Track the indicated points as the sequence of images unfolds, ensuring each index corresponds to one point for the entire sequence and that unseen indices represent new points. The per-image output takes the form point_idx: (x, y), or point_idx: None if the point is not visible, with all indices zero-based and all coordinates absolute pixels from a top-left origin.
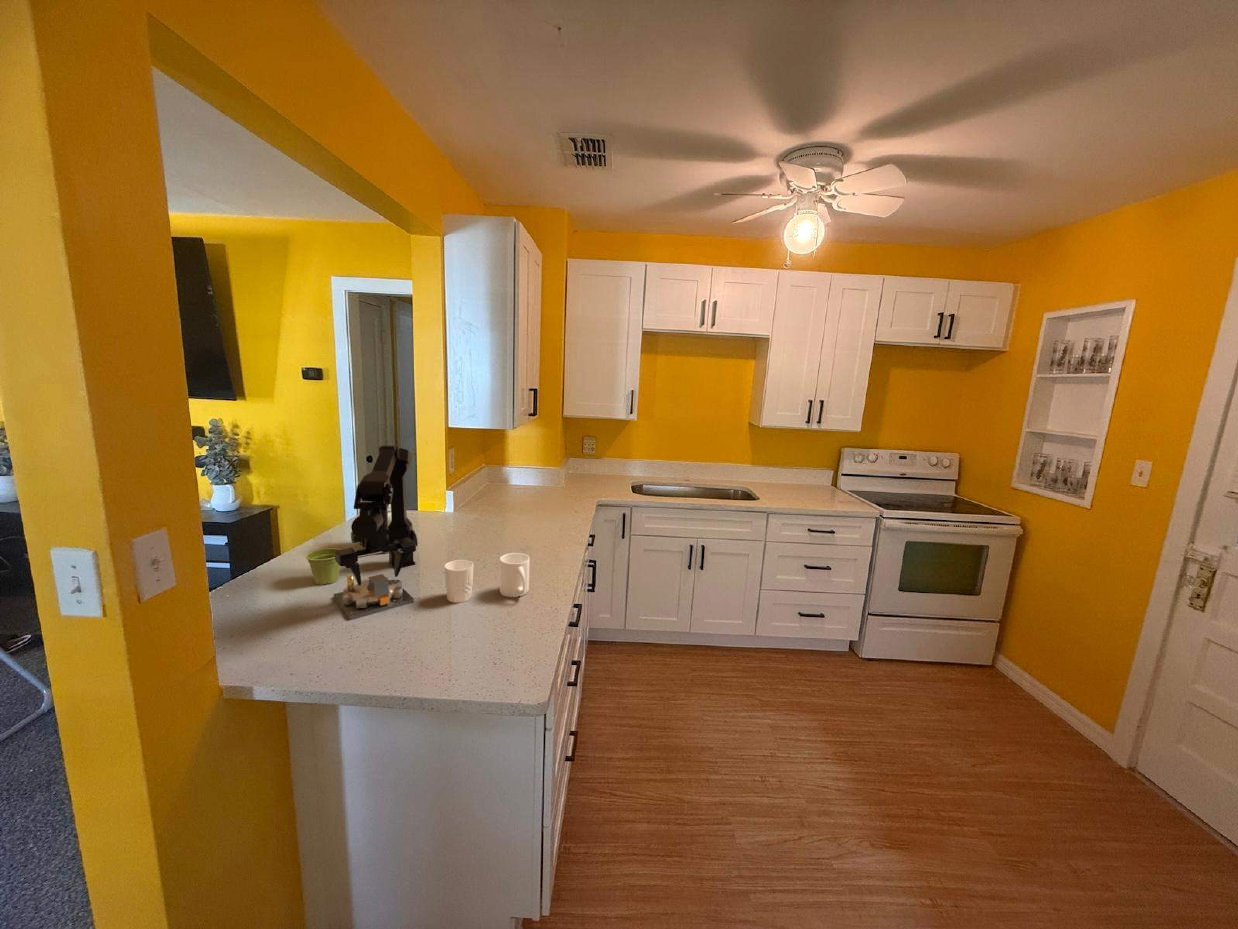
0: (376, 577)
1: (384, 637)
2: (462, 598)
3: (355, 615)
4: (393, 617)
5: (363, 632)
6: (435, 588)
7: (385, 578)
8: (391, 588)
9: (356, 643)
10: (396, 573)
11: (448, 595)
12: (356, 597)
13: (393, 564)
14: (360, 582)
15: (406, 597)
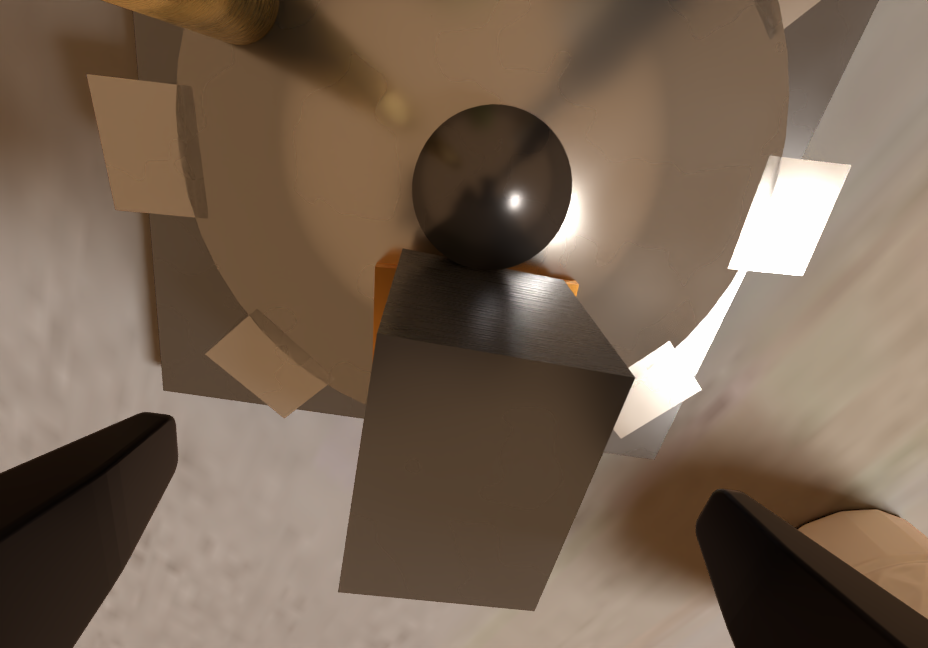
0: (471, 447)
1: (289, 637)
2: None
3: (211, 392)
4: None
5: (215, 549)
6: (909, 362)
7: (542, 557)
8: (614, 345)
9: (153, 608)
10: (723, 612)
11: None
12: (229, 282)
13: None
14: (126, 542)
15: None
